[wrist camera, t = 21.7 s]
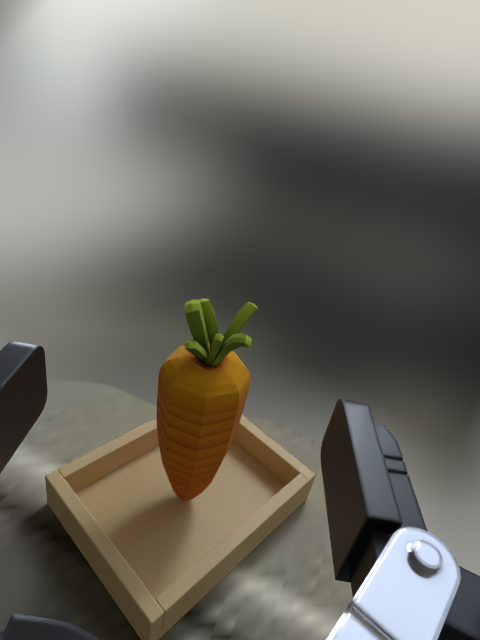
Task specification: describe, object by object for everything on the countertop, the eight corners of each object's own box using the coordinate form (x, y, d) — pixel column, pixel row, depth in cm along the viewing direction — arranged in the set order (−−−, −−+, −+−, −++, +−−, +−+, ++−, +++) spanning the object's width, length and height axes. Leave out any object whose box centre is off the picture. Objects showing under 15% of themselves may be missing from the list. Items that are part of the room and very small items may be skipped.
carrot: (222, 469, 31) (264, 281, 23) (223, 535, 26) (275, 331, 19) (151, 464, 30) (171, 269, 22) (141, 530, 26) (161, 317, 18)
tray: (147, 650, 21) (151, 624, 20) (46, 503, 27) (44, 475, 26) (306, 499, 30) (316, 474, 29) (206, 413, 36) (211, 389, 35)
